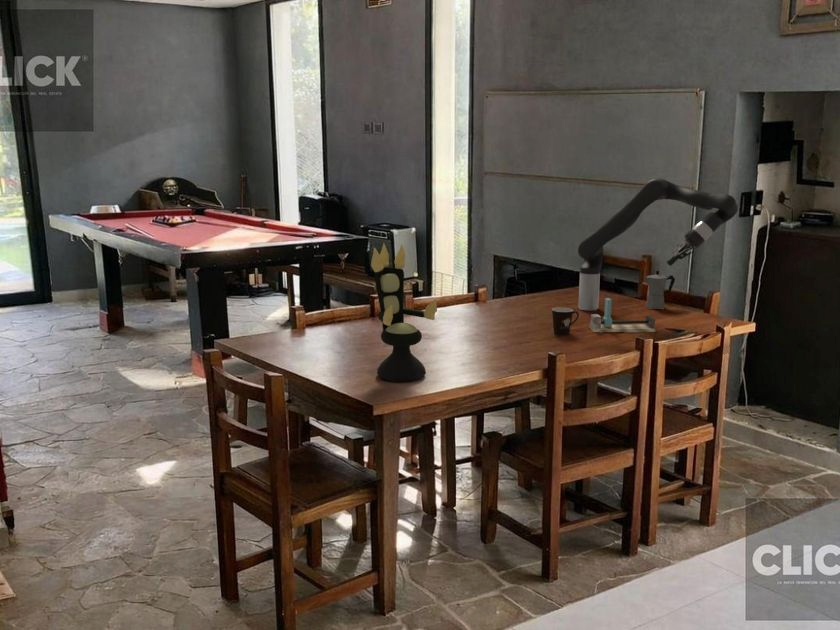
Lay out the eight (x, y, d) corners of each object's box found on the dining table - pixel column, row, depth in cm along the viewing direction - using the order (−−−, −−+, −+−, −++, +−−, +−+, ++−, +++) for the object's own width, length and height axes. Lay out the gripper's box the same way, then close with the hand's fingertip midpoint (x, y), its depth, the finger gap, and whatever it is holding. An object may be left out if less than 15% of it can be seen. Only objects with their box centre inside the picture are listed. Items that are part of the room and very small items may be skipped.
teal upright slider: (609, 324, 359) (610, 298, 356) (611, 326, 355) (613, 300, 352) (602, 324, 359) (603, 298, 356) (604, 327, 355) (606, 300, 352)
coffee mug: (552, 335, 348) (553, 311, 346) (550, 330, 356) (550, 307, 354) (580, 335, 348) (582, 312, 346) (577, 331, 356) (578, 307, 354)
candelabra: (391, 387, 278) (390, 251, 268) (357, 371, 296) (355, 243, 286) (437, 378, 288) (439, 247, 279) (402, 363, 306) (402, 239, 297)
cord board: (648, 327, 363) (649, 312, 361) (655, 332, 355) (656, 316, 353) (589, 328, 361) (589, 313, 359) (594, 332, 353) (595, 317, 351)
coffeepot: (645, 310, 397) (648, 272, 393) (638, 306, 406) (640, 269, 402) (677, 309, 399) (679, 271, 395) (668, 305, 408) (671, 268, 404)
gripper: (686, 226, 358) (657, 255, 360) (699, 230, 345) (668, 260, 347) (698, 238, 359) (668, 267, 361) (710, 242, 347) (679, 272, 348)
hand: (668, 264), depth 354 cm, fingers closed
